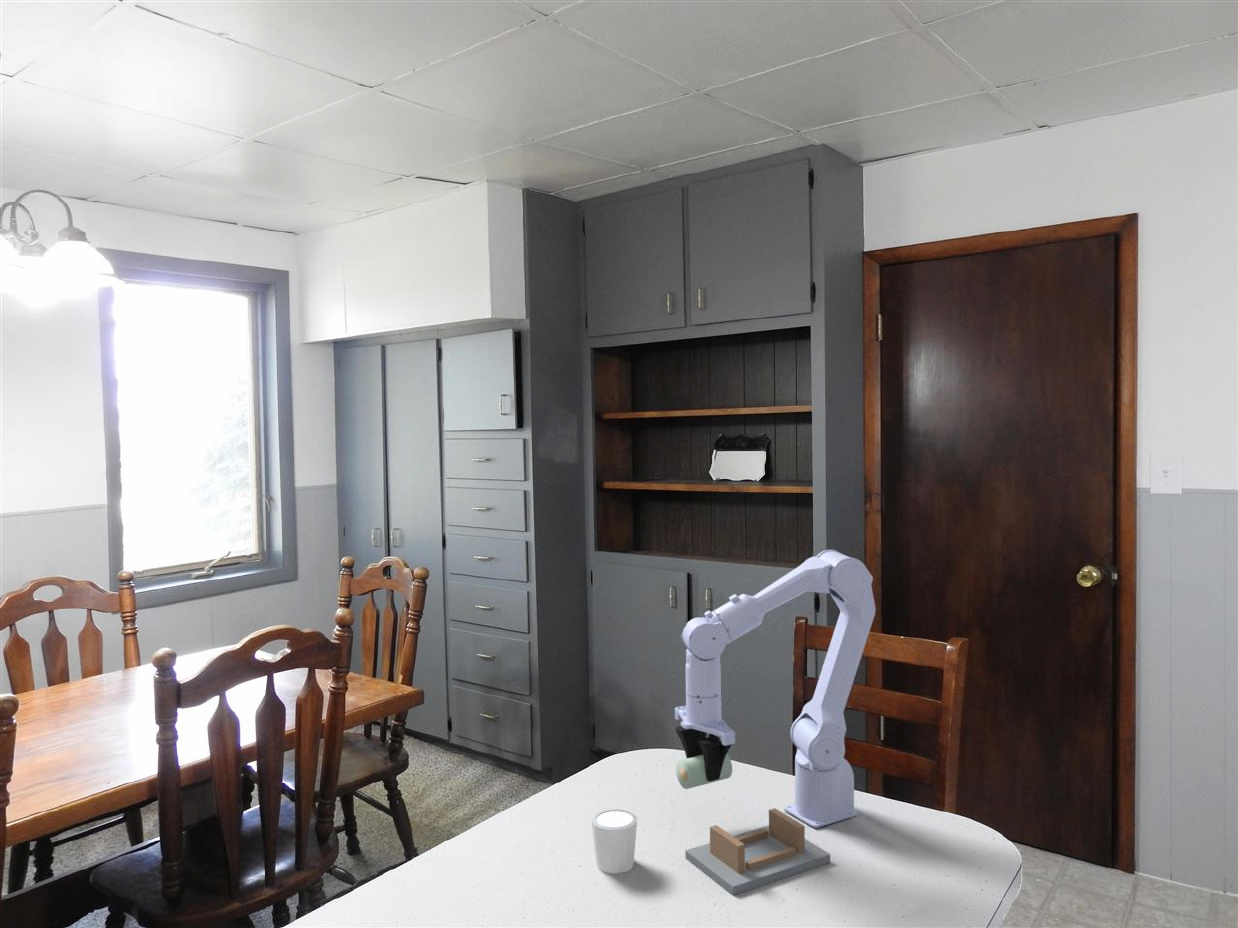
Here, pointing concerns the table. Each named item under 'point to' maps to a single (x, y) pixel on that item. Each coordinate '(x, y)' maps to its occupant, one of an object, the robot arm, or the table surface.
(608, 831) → the white cup
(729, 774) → the roll
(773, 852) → the holder
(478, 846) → the table surface
